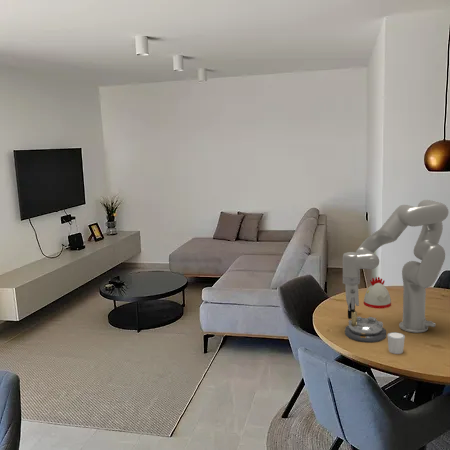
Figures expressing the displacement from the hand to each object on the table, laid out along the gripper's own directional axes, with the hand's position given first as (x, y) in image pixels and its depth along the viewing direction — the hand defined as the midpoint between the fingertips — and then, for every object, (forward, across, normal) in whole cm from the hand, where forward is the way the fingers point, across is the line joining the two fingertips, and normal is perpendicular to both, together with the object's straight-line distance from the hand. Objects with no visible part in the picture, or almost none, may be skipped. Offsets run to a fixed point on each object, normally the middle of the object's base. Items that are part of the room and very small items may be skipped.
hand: (351, 318), depth 221 cm
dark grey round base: (+7, -2, -6) cm, 9 cm away
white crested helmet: (+8, +40, -18) cm, 44 cm away
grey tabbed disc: (+5, -1, -6) cm, 8 cm away
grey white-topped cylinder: (+8, -19, -16) cm, 26 cm away
